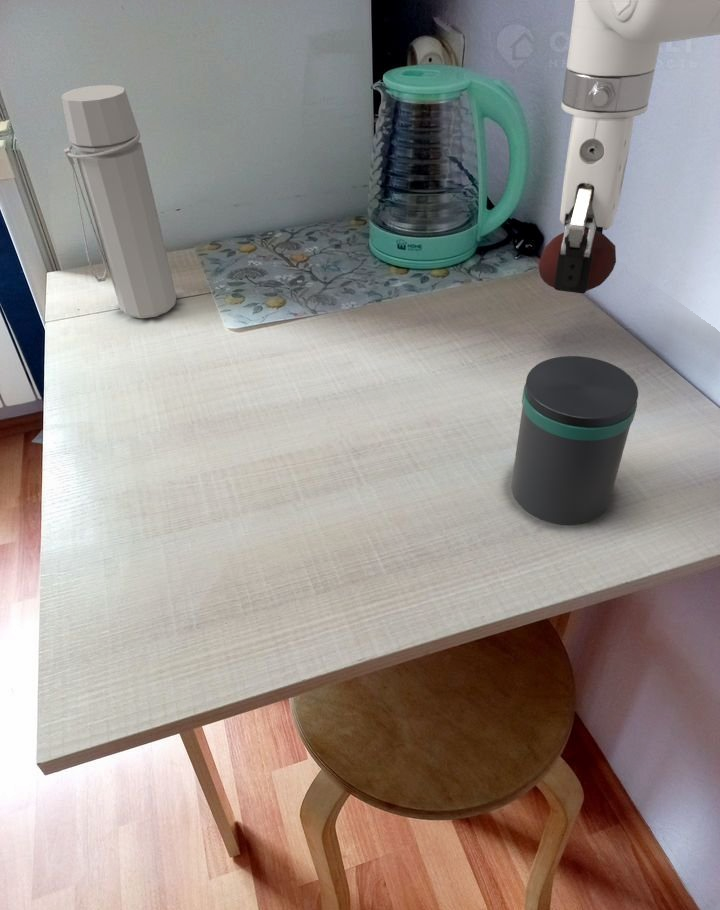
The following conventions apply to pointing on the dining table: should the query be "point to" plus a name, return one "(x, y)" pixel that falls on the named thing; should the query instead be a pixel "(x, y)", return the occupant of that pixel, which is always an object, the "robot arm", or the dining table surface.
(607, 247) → the potato
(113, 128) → the water bottle
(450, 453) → the dining table surface
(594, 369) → the canister
